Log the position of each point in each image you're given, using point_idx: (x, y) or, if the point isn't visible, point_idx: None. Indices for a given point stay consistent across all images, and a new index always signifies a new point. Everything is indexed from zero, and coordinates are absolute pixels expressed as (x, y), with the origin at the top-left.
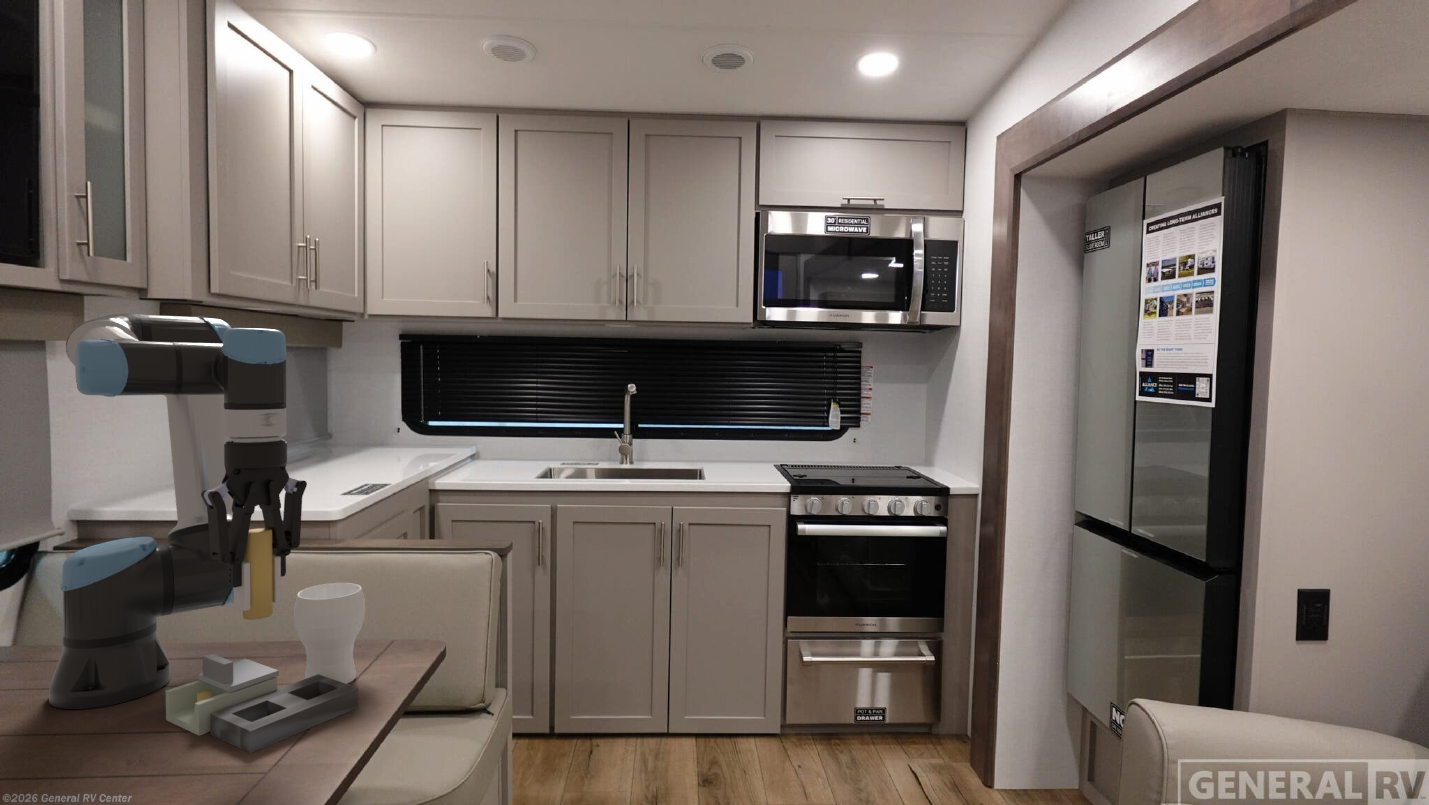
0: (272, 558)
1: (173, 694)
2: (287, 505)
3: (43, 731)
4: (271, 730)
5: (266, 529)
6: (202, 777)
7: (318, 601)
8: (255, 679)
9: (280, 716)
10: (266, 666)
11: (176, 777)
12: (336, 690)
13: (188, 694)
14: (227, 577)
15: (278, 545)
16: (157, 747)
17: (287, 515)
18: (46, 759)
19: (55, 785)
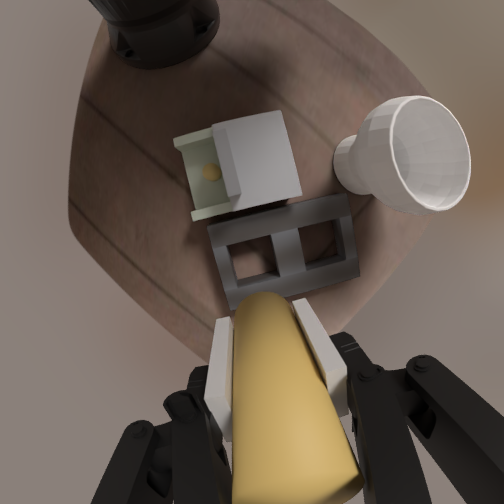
0: None
1: (180, 146)
2: (497, 494)
3: (95, 100)
4: None
5: (347, 489)
6: (185, 316)
7: (406, 194)
8: (268, 202)
9: None
10: (294, 165)
11: (167, 300)
12: (341, 265)
13: (200, 142)
14: (188, 384)
15: (356, 442)
16: (161, 216)
17: (471, 467)
18: (87, 172)
19: (89, 238)
